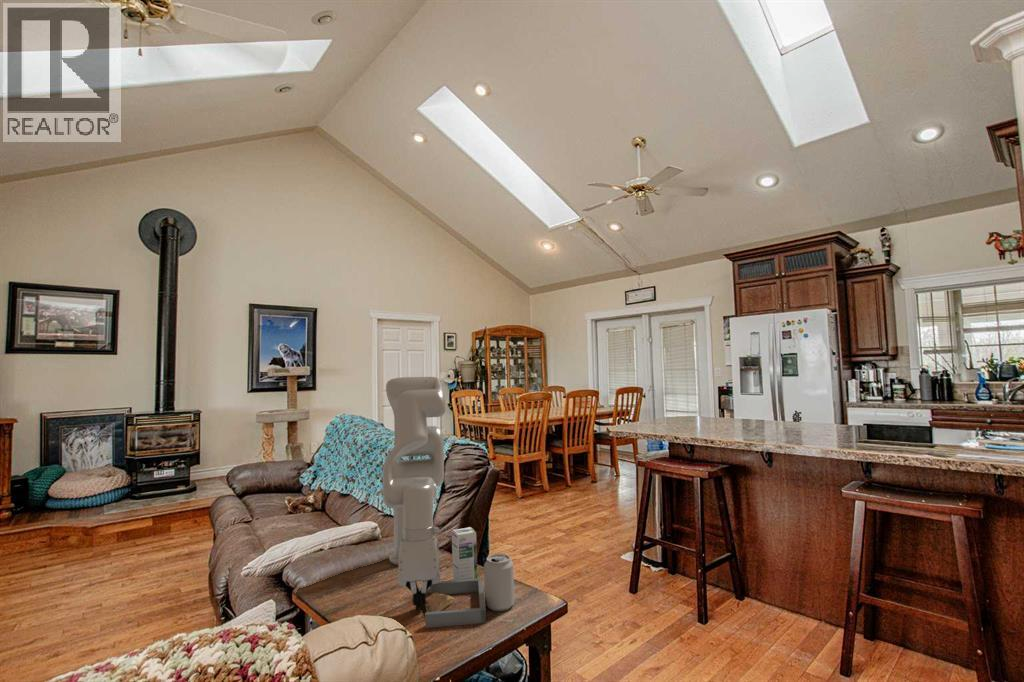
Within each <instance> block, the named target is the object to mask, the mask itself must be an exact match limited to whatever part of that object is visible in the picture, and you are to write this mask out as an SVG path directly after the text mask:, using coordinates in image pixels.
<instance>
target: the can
mask: <svg viewBox="0 0 1024 682" xmlns="http://www.w3.org/2000/svg"><path fill="white" fill-rule="evenodd" d="M514 573H515V572H514V562H513V561H512V560H511V556H510V555H509V554H506V553H493V554H490V555H488V556H487V557H486V561H485V562H484V564H483V575H484V599H485V607H486V606H487V608H488V609H489V610H491V611H494V612H505V611H507V610H509V609H510V608H511V607H512V606H513V605H514V604H515V582H514V581H515V580H514V579H515V578H514Z"/></svg>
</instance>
